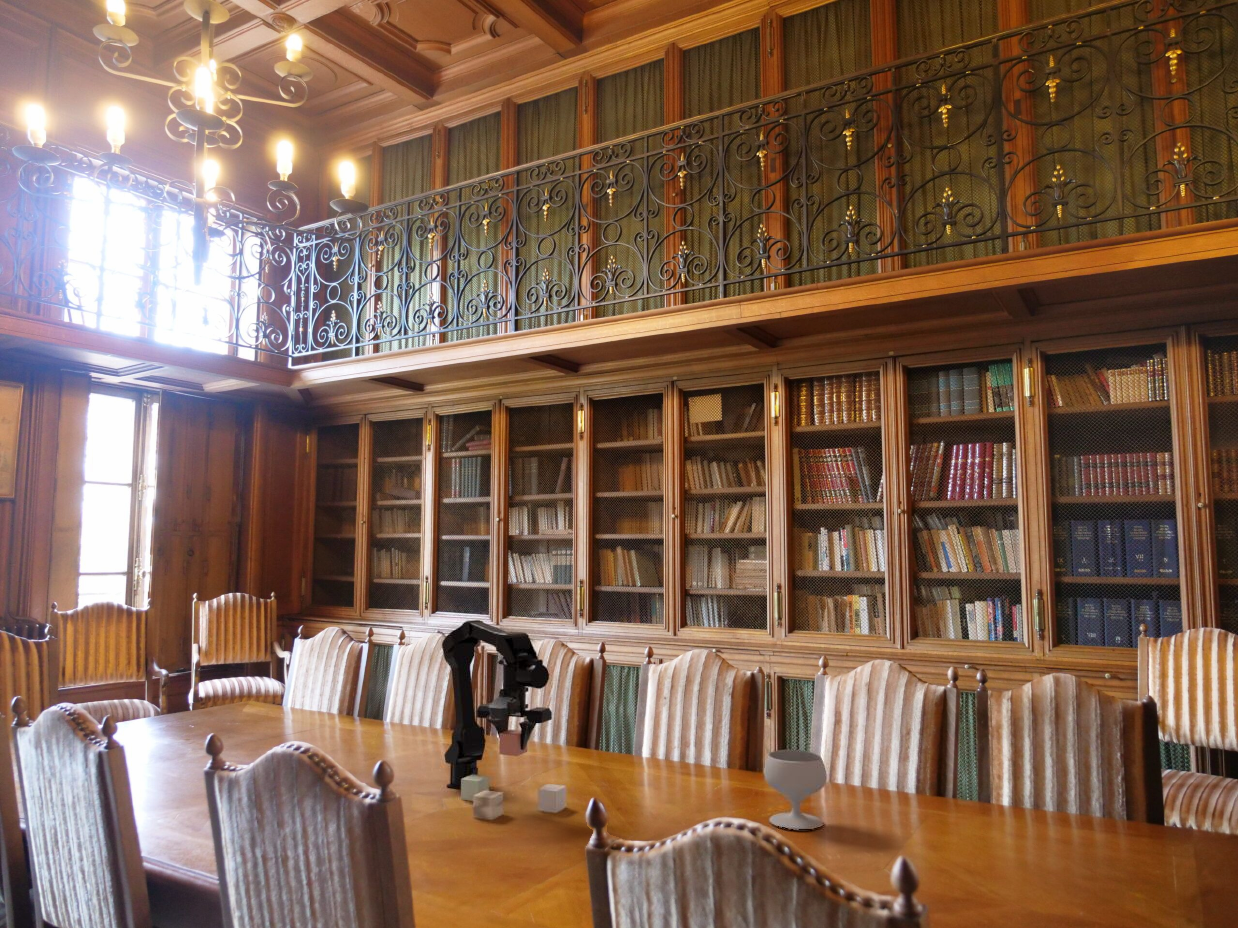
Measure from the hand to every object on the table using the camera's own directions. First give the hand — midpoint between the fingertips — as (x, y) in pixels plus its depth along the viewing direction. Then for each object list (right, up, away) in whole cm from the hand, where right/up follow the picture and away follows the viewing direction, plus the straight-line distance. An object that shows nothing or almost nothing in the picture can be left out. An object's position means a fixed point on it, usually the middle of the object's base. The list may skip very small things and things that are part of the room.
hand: (513, 748), depth 207 cm
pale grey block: (+10, -13, -6) cm, 17 cm away
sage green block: (-10, -14, +3) cm, 17 cm away
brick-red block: (0, -1, 0) cm, 1 cm away
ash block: (-4, -12, -11) cm, 17 cm away
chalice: (+67, -12, -17) cm, 70 cm away
